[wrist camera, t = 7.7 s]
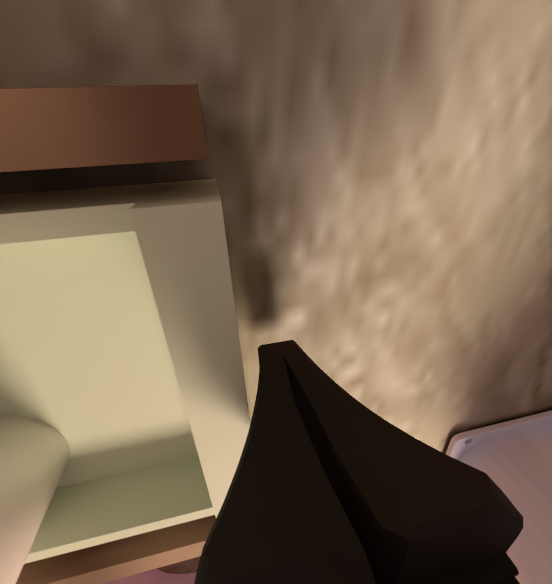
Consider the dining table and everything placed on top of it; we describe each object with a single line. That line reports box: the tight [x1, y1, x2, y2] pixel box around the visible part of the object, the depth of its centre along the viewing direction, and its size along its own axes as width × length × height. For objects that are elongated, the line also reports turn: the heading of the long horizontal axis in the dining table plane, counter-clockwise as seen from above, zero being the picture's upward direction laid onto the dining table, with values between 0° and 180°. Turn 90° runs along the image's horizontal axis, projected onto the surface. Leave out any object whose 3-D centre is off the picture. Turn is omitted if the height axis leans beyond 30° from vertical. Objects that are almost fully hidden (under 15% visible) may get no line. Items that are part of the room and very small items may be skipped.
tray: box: [0, 179, 250, 564], centre depth 10 cm, size 13×13×4 cm
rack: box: [0, 84, 216, 584], centre depth 10 cm, size 14×17×4 cm
